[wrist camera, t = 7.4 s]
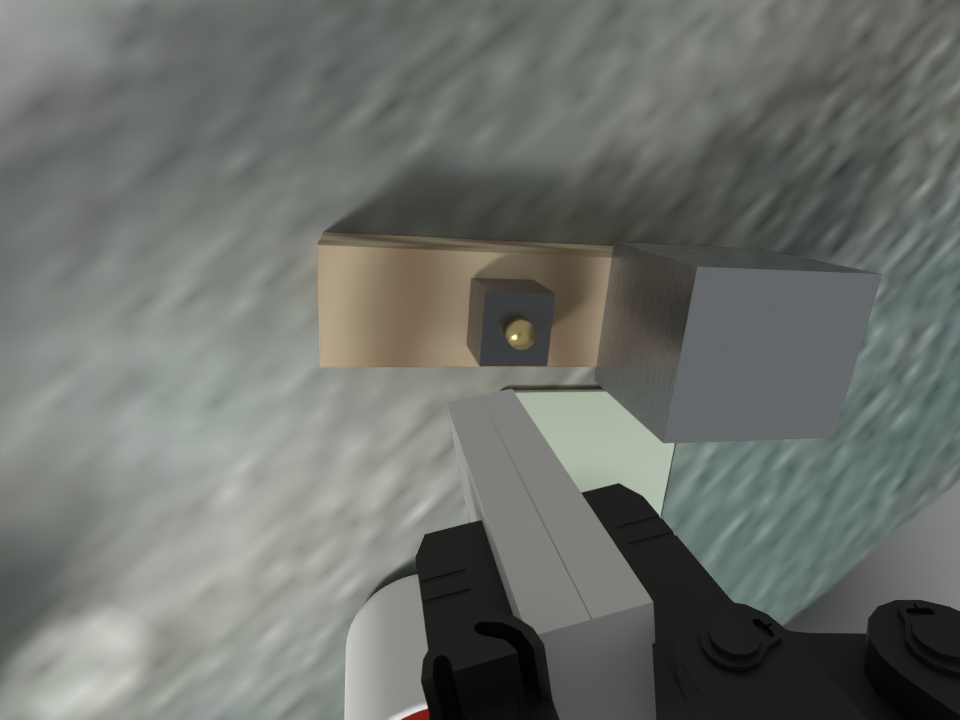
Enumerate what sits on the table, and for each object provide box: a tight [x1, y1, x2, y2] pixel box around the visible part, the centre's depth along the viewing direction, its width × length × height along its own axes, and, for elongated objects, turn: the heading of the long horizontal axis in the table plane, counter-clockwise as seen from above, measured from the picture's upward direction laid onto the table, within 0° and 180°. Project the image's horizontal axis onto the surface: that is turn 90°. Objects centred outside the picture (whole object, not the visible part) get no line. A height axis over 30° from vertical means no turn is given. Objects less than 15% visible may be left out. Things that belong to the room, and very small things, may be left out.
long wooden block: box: [317, 232, 613, 367], centre depth 29 cm, size 22×6×5 cm, turn 86°
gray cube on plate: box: [594, 242, 882, 443], centre depth 25 cm, size 8×7×7 cm
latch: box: [467, 278, 555, 366], centre depth 24 cm, size 3×3×4 cm
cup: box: [344, 574, 430, 720], centre depth 33 cm, size 10×10×10 cm
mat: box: [501, 389, 675, 517], centre depth 36 cm, size 12×11×1 cm
